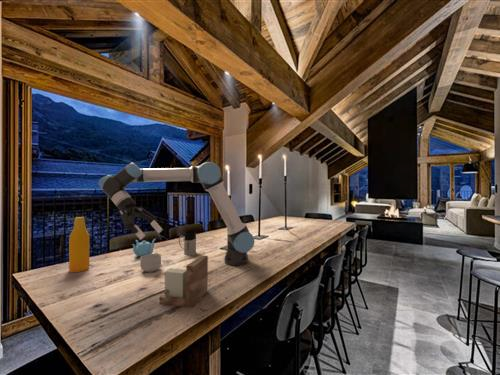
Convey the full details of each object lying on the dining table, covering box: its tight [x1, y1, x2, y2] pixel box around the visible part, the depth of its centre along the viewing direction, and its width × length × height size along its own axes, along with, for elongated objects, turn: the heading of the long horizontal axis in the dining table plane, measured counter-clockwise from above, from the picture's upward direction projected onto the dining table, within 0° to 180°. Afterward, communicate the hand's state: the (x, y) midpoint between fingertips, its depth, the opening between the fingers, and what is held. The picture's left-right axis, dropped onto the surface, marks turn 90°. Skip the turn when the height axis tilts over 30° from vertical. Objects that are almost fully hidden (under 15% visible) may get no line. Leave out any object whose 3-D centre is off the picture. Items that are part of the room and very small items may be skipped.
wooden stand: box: [159, 254, 209, 308], centre depth 100 cm, size 14×14×16 cm
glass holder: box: [178, 230, 197, 256], centre depth 160 cm, size 9×14×15 cm, turn 148°
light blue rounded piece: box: [131, 238, 156, 258], centre depth 156 cm, size 13×13×10 cm
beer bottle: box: [68, 216, 90, 273], centre depth 130 cm, size 9×9×29 cm
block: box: [163, 267, 186, 298], centre depth 97 cm, size 8×5×12 cm, turn 79°
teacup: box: [139, 252, 162, 273], centre depth 132 cm, size 14×11×8 cm
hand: (152, 234), depth 111 cm, fingers open, 13 cm apart
